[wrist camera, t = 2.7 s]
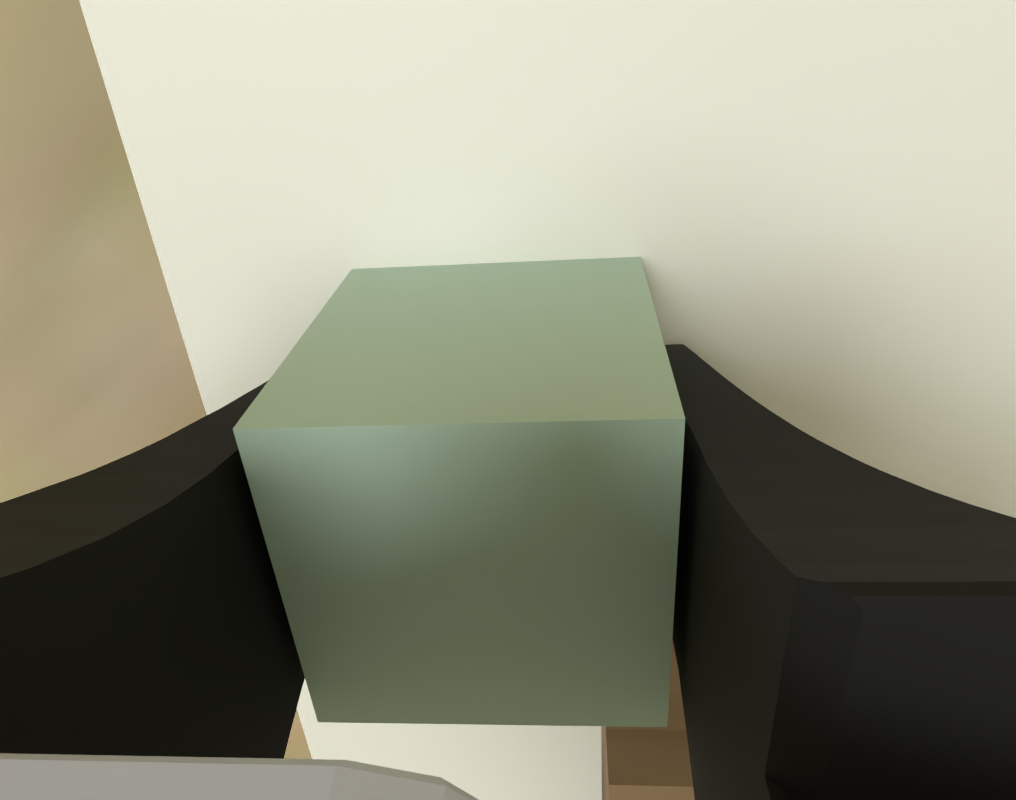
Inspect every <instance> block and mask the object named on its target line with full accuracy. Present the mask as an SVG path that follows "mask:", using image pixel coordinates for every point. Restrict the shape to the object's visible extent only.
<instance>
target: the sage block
mask: <svg viewBox="0 0 1016 800" xmlns="http://www.w3.org/2000/svg"><path fill="white" fill-rule="evenodd" d="M233 432H234V435H235V439H236V442H237V446H238V449H239V453H240V456H241V459H242V463H243V466H244V470H245V473H246V477H247V480H248V484H249V487H250V490H251V494H252V497H253V501H254V504H255V508H256V511H257V514H258V518H259V521H260V525H261V528H262V532H263V535H264V539H265V542H266V545H267V549H268V552H269V556H270V559H271V563H272V566H273V570H274V573H275V576H276V580H277V583H278V587H279V590H280V594H281V597H282V601H283V604H284V607H285V611H286V614H287V618H288V621H289V625H290V628H291V631H292V635H293V638H294V642H295V645H296V649H297V652H298V656H299V659H300V662H301V666H302V669H303V673H304V676H305V680H306V683H307V687H308V690H309V693H310V697H311V700H312V704H313V707H314V711H315V714H316V717H317V721H318V722H332V723H403V724H474V725H545V726H615V727H667V723H668V706H669V689H670V672H671V655H672V638H673V620H674V603H675V586H676V569H677V552H678V535H679V518H680V501H681V484H682V467H683V450H684V432H685V416H684V412H683V408H682V405H681V401H680V398H679V394H678V390H677V387H676V383H675V380H674V376H673V373H672V369H671V365H670V362H669V358H668V355H667V351H666V347H665V344H664V340H663V337H662V333H661V330H660V326H659V322H658V319H657V315H656V312H655V308H654V304H653V301H652V297H651V294H650V290H649V287H648V283H647V279H646V276H645V272H644V269H643V265H642V261H641V258H640V257H621V258H597V259H574V260H550V261H527V262H503V263H480V264H457V265H433V266H410V267H386V268H363V269H351V271H350V272H349V273H348V275H347V276H346V277H345V279H344V280H343V281H342V283H341V284H340V286H339V287H338V288H337V290H336V291H335V292H334V294H333V295H332V296H331V298H330V299H329V300H328V302H327V303H326V304H325V306H324V307H323V308H322V310H321V311H320V312H319V314H318V315H317V316H316V318H315V319H314V320H313V322H312V323H311V324H310V326H309V327H308V328H307V330H306V331H305V332H304V334H303V335H302V337H301V338H300V339H299V341H298V342H297V343H296V345H295V346H294V347H293V349H292V350H291V351H290V353H289V354H288V355H287V357H286V358H285V359H284V361H283V362H282V363H281V365H280V366H279V367H278V369H277V370H276V371H275V373H274V374H273V375H272V377H271V378H270V379H269V381H268V382H267V383H266V385H265V386H264V387H263V389H262V390H261V392H260V393H259V394H258V396H257V397H256V398H255V400H254V401H253V402H252V404H251V405H250V406H249V408H248V409H247V410H246V412H245V413H244V414H243V416H242V417H241V418H240V420H239V421H238V422H237V424H236V425H235V426H234V428H233Z"/></svg>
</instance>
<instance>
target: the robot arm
mask: <svg viewBox="0 0 1016 800" xmlns="http://www.w3.org/2000/svg"><path fill="white" fill-rule="evenodd" d="M665 347H666V351H667V355H668V358H669V362H670V365H671V369H672V373H673V376H674V380H675V383H676V387H677V390H678V394H679V398H680V401H681V405H682V408H683V412H684V416H685V432H684V450H683V467H682V484H681V501H680V518H679V535H678V552H677V569H676V586H675V603H674V620H673V638H672V639H673V644H674V649H675V655H676V660H677V665H678V671H679V678H680V686H681V694H682V701H683V709H684V717H685V724H686V732H687V740H688V748H689V756H690V764H691V773H692V781H693V789H694V797H695V800H1016V518H1014V517H1011V516H1007V515H1004V514H1001V513H997V512H994V511H991V510H988V509H984V508H981V507H978V506H974V505H971V504H968V503H965V502H962V501H959V500H957V499H954V498H951V497H948V496H945V495H942V494H939V493H936V492H934V491H931V490H928V489H926V488H923V487H921V486H918V485H916V484H913V483H911V482H908V481H906V480H903V479H901V478H898V477H896V476H893V475H891V474H888V473H886V472H883V471H881V470H879V469H876V468H874V467H872V466H870V465H867V464H865V463H863V462H861V461H859V460H857V459H854V458H853V457H851V456H849V455H847V454H845V453H843V452H841V451H839V450H837V449H835V448H833V447H831V446H829V445H827V444H825V443H823V442H821V441H819V440H817V439H816V438H814V437H812V436H810V435H809V434H807V433H805V432H803V431H802V430H800V429H798V428H797V427H795V426H793V425H792V424H790V423H789V422H787V421H786V420H784V419H782V418H781V417H779V416H778V415H776V414H775V413H773V412H772V411H770V410H768V409H767V408H766V407H764V406H763V405H761V404H760V403H758V402H757V401H755V400H754V399H753V398H751V397H750V396H748V395H747V394H746V393H744V392H743V391H742V390H740V389H739V388H738V387H736V386H735V385H734V384H732V383H731V382H730V381H729V380H727V379H726V378H725V377H724V376H722V375H721V374H720V373H719V372H717V371H716V370H715V369H714V368H712V367H711V366H710V365H709V364H707V363H706V362H705V361H704V360H703V359H701V358H700V357H699V356H698V355H696V354H695V353H694V352H693V351H691V350H690V349H689V348H688V347H686V346H685V345H683V344H671V345H665ZM268 381H269V380H268ZM268 381H267V382H268ZM267 382H265V383H263V384H261V385H260V386H258V387H256V388H255V389H253V390H251V391H249V392H248V393H246V394H244V395H243V396H241V397H239V398H237V399H236V400H234V401H232V402H231V403H229V404H227V405H225V406H224V407H222V408H220V409H218V410H216V411H214V412H213V413H211V414H209V415H207V416H205V417H203V418H201V419H200V420H198V421H196V422H194V423H192V424H190V425H188V426H186V427H185V428H183V429H181V430H179V431H177V432H175V433H173V434H171V435H170V436H168V437H166V438H164V439H162V440H160V441H158V442H156V443H154V444H151V445H149V446H147V447H145V448H143V449H141V450H139V451H136V452H134V453H132V454H130V455H127V456H125V457H123V458H120V459H118V460H116V461H113V462H111V463H109V464H106V465H104V466H102V467H99V468H97V469H95V470H92V471H89V472H87V473H84V474H82V475H79V476H76V477H74V478H71V479H68V480H65V481H62V482H59V483H57V484H54V485H51V486H48V487H45V488H42V489H40V490H37V491H34V492H31V493H28V494H25V495H23V496H20V497H17V498H14V499H11V500H8V501H5V502H2V503H0V800H479V799H477V798H475V797H473V796H472V795H470V794H468V793H467V792H465V791H463V790H462V789H460V788H458V787H456V786H455V785H453V784H451V783H450V782H448V781H446V780H444V779H443V778H441V777H436V776H431V775H426V774H420V773H415V772H409V771H404V770H398V769H393V768H388V767H382V766H377V765H371V764H366V763H360V762H355V761H350V760H327V759H284V755H285V751H286V747H287V743H288V739H289V734H290V730H291V727H292V723H293V719H294V716H295V712H296V708H297V705H298V701H299V697H300V694H301V690H302V686H303V683H304V679H305V676H304V673H303V669H302V666H301V662H300V659H299V656H298V652H297V649H296V645H295V642H294V638H293V635H292V631H291V628H290V625H289V621H288V618H287V614H286V611H285V607H284V604H283V601H282V597H281V594H280V590H279V587H278V583H277V580H276V576H275V573H274V570H273V566H272V563H271V559H270V556H269V552H268V549H267V545H266V542H265V539H264V535H263V532H262V528H261V525H260V521H259V518H258V514H257V511H256V508H255V504H254V501H253V497H252V494H251V490H250V487H249V484H248V480H247V477H246V473H245V470H244V466H243V463H242V459H241V456H240V453H239V449H238V446H237V442H236V439H235V435H234V432H233V428H234V426H235V425H236V424H237V422H238V421H239V420H240V418H241V417H242V416H243V414H244V413H245V412H246V410H247V409H248V408H249V406H250V405H251V404H252V402H253V401H254V400H255V398H256V397H257V396H258V394H259V393H260V392H261V390H262V389H263V387H264V386H265V385H266V383H267Z"/></svg>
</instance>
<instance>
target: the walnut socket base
mask: <svg viewBox="0 0 1016 800" xmlns="http://www.w3.org/2000/svg"><path fill="white" fill-rule="evenodd" d="M601 752H602V800H695V797H694V789H693V781H692V773H691V764H690V756H689V748H688V740H687V732H686V724H685V717H684V709H683V701H682V694H681V686H680V678H679V671H678V665H677V660H676V655H675V649H674V644H673V639H672V655H671V672H670V689H669V706H668V723H667V727H615V726H601Z"/></svg>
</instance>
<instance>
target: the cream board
mask: <svg viewBox="0 0 1016 800" xmlns="http://www.w3.org/2000/svg"><path fill="white" fill-rule="evenodd" d="M79 1H80V5H81V8H82V11H83V14H84V18H85V21H86V24H87V27H88V31H89V34H90V37H91V41H92V44H93V47H94V50H95V54H96V57H97V60H98V63H99V67H100V70H101V73H102V76H103V80H104V83H105V86H106V89H107V93H108V96H109V99H110V102H111V106H112V109H113V112H114V115H115V119H116V122H117V125H118V128H119V132H120V135H121V138H122V141H123V145H124V148H125V151H126V154H127V158H128V161H129V164H130V167H131V171H132V174H133V177H134V180H135V184H136V187H137V190H138V193H139V197H140V200H141V203H142V206H143V210H144V213H145V216H146V219H147V223H148V226H149V229H150V232H151V236H152V239H153V242H154V245H155V249H156V252H157V255H158V258H159V262H160V265H161V268H162V271H163V275H164V278H165V281H166V284H167V288H168V291H169V294H170V298H171V301H172V304H173V307H174V311H175V314H176V317H177V320H178V324H179V327H180V330H181V333H182V337H183V340H184V343H185V346H186V350H187V353H188V356H189V359H190V363H191V366H192V369H193V372H194V376H195V379H196V382H197V385H198V389H199V392H200V395H201V398H202V402H203V405H204V408H205V411H206V415H209V414H211V413H213V412H214V411H216V410H218V409H220V408H222V407H224V406H225V405H227V404H229V403H231V402H232V401H234V400H236V399H237V398H239V397H241V396H243V395H244V394H246V393H248V392H249V391H251V390H253V389H255V388H256V387H258V386H260V385H261V384H263V383H265V382H267V381H268V380H269V379H270V378H271V377H272V375H273V374H274V373H275V371H276V370H277V369H278V367H279V366H280V365H281V363H282V362H283V361H284V359H285V358H286V357H287V355H288V354H289V353H290V351H291V350H292V349H293V347H294V346H295V345H296V343H297V342H298V341H299V339H300V338H301V337H302V335H303V334H304V332H305V331H306V330H307V328H308V327H309V326H310V324H311V323H312V322H313V320H314V319H315V318H316V316H317V315H318V314H319V312H320V311H321V310H322V308H323V307H324V306H325V304H326V303H327V302H328V300H329V299H330V298H331V296H332V295H333V294H334V292H335V291H336V290H337V288H338V287H339V286H340V284H341V283H342V281H343V280H344V279H345V277H346V276H347V275H348V273H349V272H350V271H351V269H363V268H386V267H410V266H433V265H457V264H480V263H503V262H527V261H550V260H574V259H597V258H621V257H640V258H641V261H642V265H643V269H644V272H645V276H646V279H647V283H648V287H649V290H650V294H651V297H652V301H653V304H654V308H655V312H656V315H657V319H658V322H659V326H660V330H661V333H662V337H663V340H664V344H665V345H671V344H683V345H685V346H686V347H688V348H689V349H690V350H691V351H693V352H694V353H695V354H696V355H698V356H699V357H700V358H701V359H703V360H704V361H705V362H706V363H707V364H709V365H710V366H711V367H712V368H714V369H715V370H716V371H717V372H719V373H720V374H721V375H722V376H724V377H725V378H726V379H727V380H729V381H730V382H731V383H732V384H734V385H735V386H736V387H738V388H739V389H740V390H742V391H743V392H744V393H746V394H747V395H748V396H750V397H751V398H753V399H754V400H755V401H757V402H758V403H760V404H761V405H763V406H764V407H766V408H767V409H768V410H770V411H772V412H773V413H775V414H776V415H778V416H779V417H781V418H782V419H784V420H786V421H787V422H789V423H790V424H792V425H793V426H795V427H797V428H798V429H800V430H802V431H803V432H805V433H807V434H809V435H810V436H812V437H814V438H816V439H817V440H819V441H821V442H823V443H825V444H827V445H829V446H831V447H833V448H835V449H837V450H839V451H841V452H843V453H845V454H847V455H849V456H851V457H853V458H854V459H857V460H859V461H861V462H863V463H865V464H867V465H870V466H872V467H874V468H876V469H879V470H881V471H883V472H886V473H888V474H891V475H893V476H896V477H898V478H901V479H903V480H906V481H908V482H911V483H913V484H916V485H918V486H921V487H923V488H926V489H928V490H931V491H934V492H936V493H939V494H942V495H945V496H948V497H951V498H954V499H957V500H959V501H962V502H965V503H968V504H971V505H974V506H978V507H981V508H984V509H988V510H991V511H994V512H997V513H1001V514H1004V515H1007V516H1011V517H1014V518H1016V0H79ZM297 711H298V714H299V717H300V720H301V724H302V727H303V730H304V733H305V737H306V740H307V743H308V746H309V750H310V753H311V756H312V759H327V760H350V761H355V762H360V763H366V764H371V765H377V766H382V767H388V768H393V769H398V770H404V771H409V772H415V773H420V774H426V775H431V776H436V777H441V778H443V779H444V780H446V781H448V782H450V783H451V784H453V785H455V786H456V787H458V788H460V789H462V790H463V791H465V792H467V793H468V794H470V795H472V796H473V797H475V798H477V799H479V800H602V752H601V726H545V725H474V724H403V723H332V722H318V721H317V717H316V714H315V711H314V707H313V704H312V700H311V697H310V693H309V690H308V687H307V683H306V680H305V679H304V683H303V686H302V690H301V694H300V697H299V701H298V705H297Z"/></svg>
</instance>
